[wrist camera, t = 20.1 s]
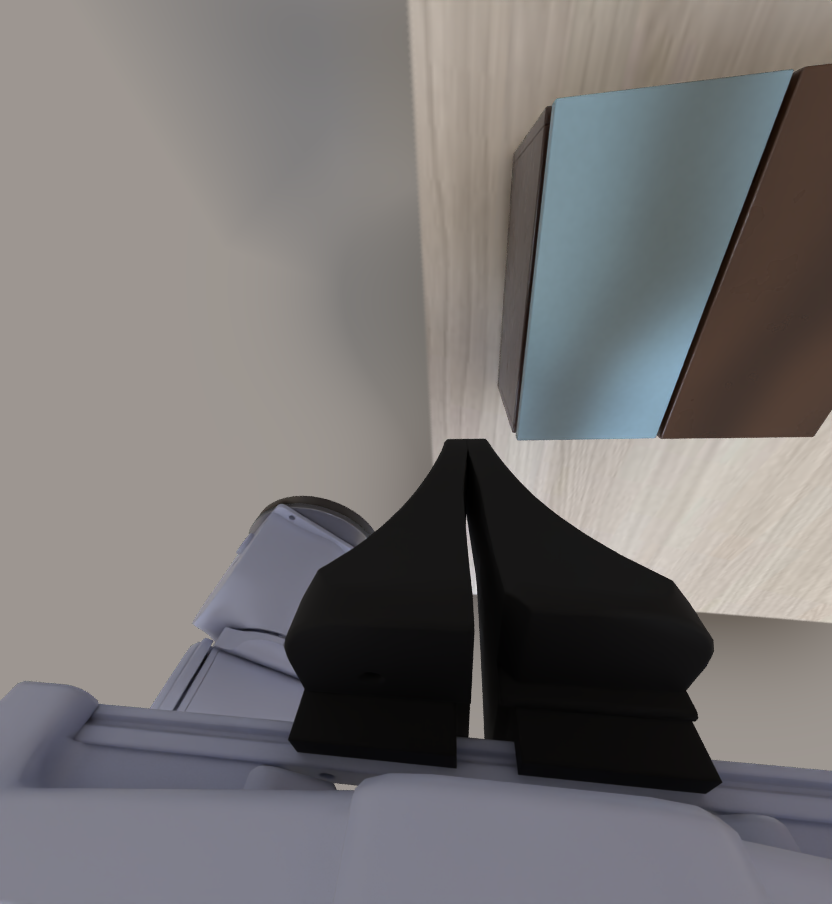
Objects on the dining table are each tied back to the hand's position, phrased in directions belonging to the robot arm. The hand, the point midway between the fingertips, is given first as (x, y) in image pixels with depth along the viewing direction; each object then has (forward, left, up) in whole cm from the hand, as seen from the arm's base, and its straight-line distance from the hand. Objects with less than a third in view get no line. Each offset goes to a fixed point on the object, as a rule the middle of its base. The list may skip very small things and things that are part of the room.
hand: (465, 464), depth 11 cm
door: (+1, +7, -4) cm, 8 cm away
